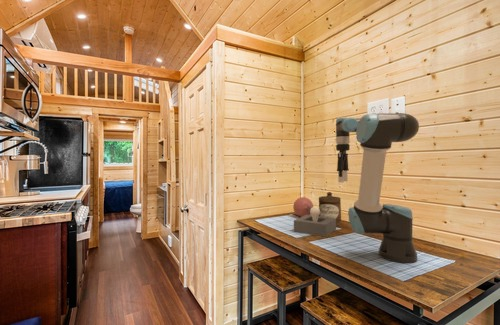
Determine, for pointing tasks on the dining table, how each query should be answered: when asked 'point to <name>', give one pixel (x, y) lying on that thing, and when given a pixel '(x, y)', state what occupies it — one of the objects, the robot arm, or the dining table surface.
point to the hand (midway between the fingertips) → (343, 181)
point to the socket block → (315, 225)
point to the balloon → (302, 206)
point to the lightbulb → (315, 213)
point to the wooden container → (330, 207)
